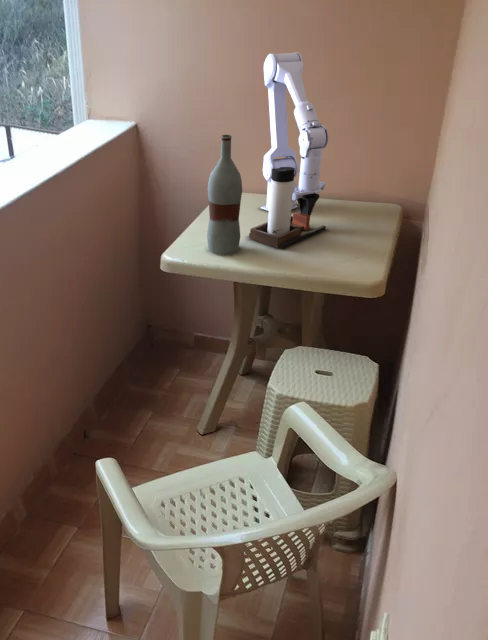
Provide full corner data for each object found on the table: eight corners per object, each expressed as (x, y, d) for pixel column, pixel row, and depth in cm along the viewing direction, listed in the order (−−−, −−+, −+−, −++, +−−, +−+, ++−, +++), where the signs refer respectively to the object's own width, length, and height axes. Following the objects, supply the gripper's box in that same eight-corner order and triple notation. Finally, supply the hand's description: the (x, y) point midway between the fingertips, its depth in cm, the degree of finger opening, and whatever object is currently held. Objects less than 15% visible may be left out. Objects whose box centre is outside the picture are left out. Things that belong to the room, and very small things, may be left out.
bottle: (231, 258, 177) (235, 142, 159) (201, 252, 180) (201, 138, 163) (245, 246, 183) (250, 133, 166) (215, 241, 187) (217, 130, 170)
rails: (291, 219, 201) (291, 215, 200) (325, 230, 194) (325, 226, 193) (249, 237, 189) (249, 233, 189) (283, 248, 182) (284, 244, 181)
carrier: (288, 222, 198) (289, 209, 196) (315, 231, 193) (317, 217, 190) (249, 238, 188) (250, 225, 185) (277, 248, 182) (278, 234, 180)
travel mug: (276, 243, 185) (281, 171, 174) (262, 236, 190) (267, 165, 178) (293, 239, 188) (300, 168, 176) (280, 232, 192) (285, 162, 181)
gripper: (306, 180, 180) (301, 228, 188) (336, 169, 189) (330, 215, 197) (285, 175, 185) (281, 222, 192) (316, 164, 193) (311, 210, 201)
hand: (305, 218), depth 195 cm, fingers closed
